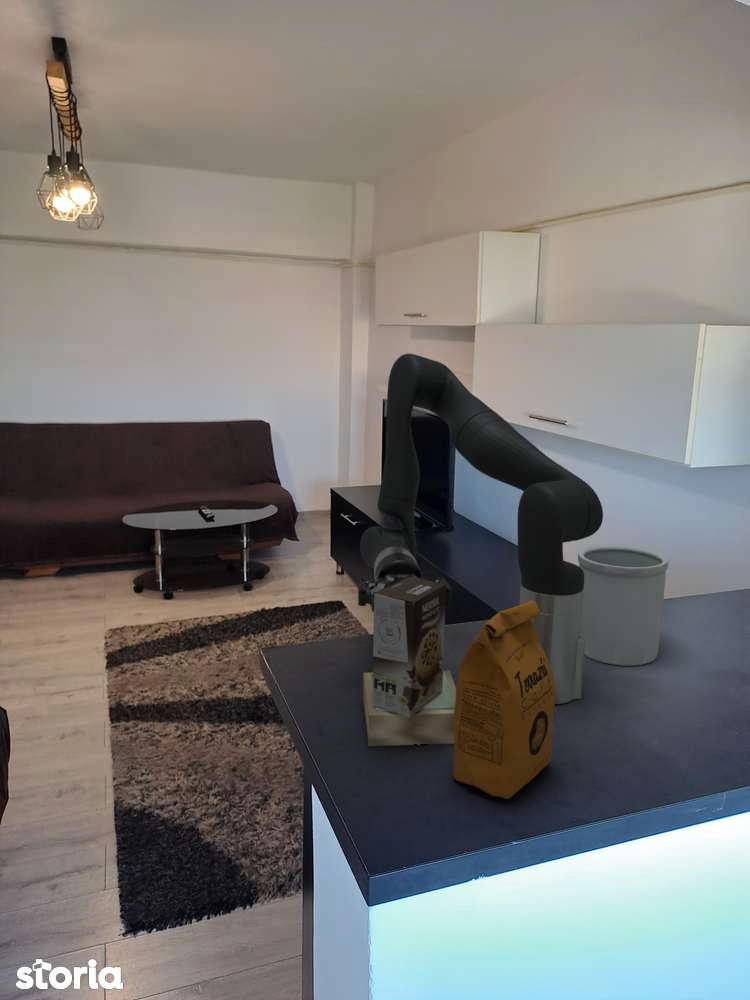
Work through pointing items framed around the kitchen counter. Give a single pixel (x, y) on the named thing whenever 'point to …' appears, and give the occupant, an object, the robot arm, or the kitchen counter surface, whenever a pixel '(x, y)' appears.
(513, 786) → the coffee package
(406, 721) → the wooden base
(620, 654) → the utensil holder
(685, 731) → the kitchen counter surface
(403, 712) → the coffee box
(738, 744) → the kitchen counter surface
